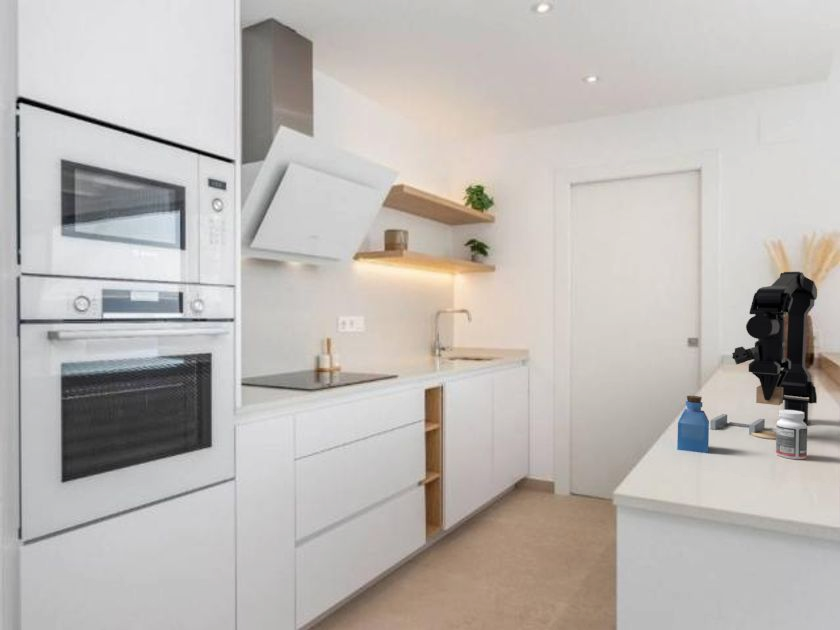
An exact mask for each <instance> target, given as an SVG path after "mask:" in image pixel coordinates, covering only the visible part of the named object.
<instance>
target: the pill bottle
mask: <svg viewBox="0 0 840 630" xmlns="http://www.w3.org/2000/svg"><path fill="white" fill-rule="evenodd" d="M778 415H779V417H780V419H778V420H777V422H776V431H775V432H776V440H775V454H776V455H777V456H779V458H784V459H790V460H805V459H806V458H807V456H808V455H807V454H808V449H807V448H808V425H806V423H804V422H803V419H804V418H805V417H804V412H801V411H795V410H784V409H780V410H779V412H778Z"/></svg>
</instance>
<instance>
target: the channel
mask: <svg viewBox="0 0 840 630" xmlns="http://www.w3.org/2000/svg"><path fill="white" fill-rule="evenodd" d="M765 420H766V419H765V418H758V419H756V420H755V421H753V422H751V423H750V424H748V425H749V428H748V435H749V436H752V435H751V433H755V432H757V431H758V430H765V424H766V423H765V422H766V421H765ZM727 423H728V414H727V413H726V414H725V413H721V414H720V415H717V416H716V417H714V418H711V419H710V421H709V430H714V431H717V430H718V429H719V428H721V427H723V426H725V425H727Z"/></svg>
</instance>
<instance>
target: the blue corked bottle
mask: <svg viewBox="0 0 840 630" xmlns="http://www.w3.org/2000/svg"><path fill="white" fill-rule="evenodd" d="M702 398H703V397H702V396H700V395H687V396H686V401H685V406H686V408H684V410H683V412H682V413H681V415H680V417H679V419H678V422H677V441H676V442H677V443H676V444H677V448H676V450H677V451H683V452H684V451H686V452H693V453H694V452H695V453H700V454H708V453H709V441H710V439H709V436H710V421H709V419H708V416H707V414H706V413H705V410H702V408H703V402H702Z"/></svg>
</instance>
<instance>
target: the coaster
mask: <svg viewBox="0 0 840 630" xmlns="http://www.w3.org/2000/svg"><path fill="white" fill-rule="evenodd" d="M750 436H753V437H756V438H761V439H766V440H775V441H776V431H773V430H765V429H763V430H758V431H757V432H755V433H751V435H750Z"/></svg>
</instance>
